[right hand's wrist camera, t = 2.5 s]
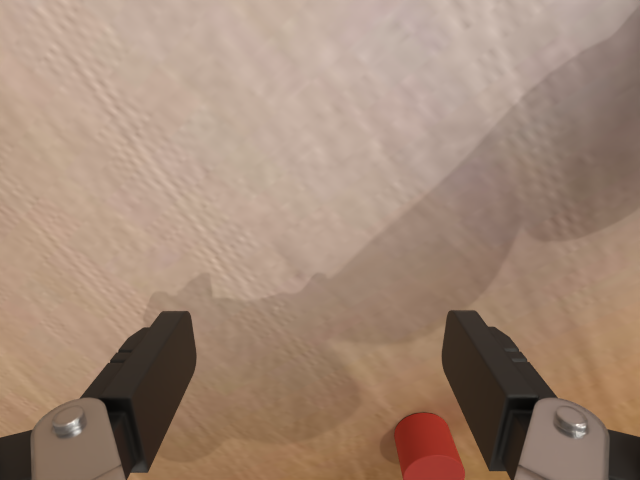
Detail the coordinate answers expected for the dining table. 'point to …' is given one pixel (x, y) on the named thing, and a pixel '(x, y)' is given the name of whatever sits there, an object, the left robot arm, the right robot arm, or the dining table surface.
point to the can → (427, 449)
